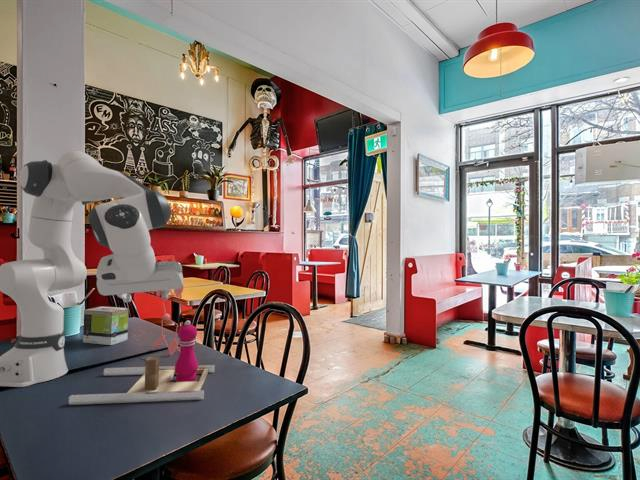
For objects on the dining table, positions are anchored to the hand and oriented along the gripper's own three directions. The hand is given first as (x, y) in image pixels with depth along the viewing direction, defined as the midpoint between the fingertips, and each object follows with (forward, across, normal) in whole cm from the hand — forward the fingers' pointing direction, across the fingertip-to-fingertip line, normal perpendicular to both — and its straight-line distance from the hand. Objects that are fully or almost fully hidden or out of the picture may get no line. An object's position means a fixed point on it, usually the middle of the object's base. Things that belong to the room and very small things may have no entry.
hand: (147, 298), depth 95 cm
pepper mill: (+34, -7, +8) cm, 36 cm away
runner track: (+32, +4, +9) cm, 33 cm away
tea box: (+66, +32, -34) cm, 81 cm away
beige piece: (+32, -2, +10) cm, 33 cm away
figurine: (+53, +7, -15) cm, 55 cm away
